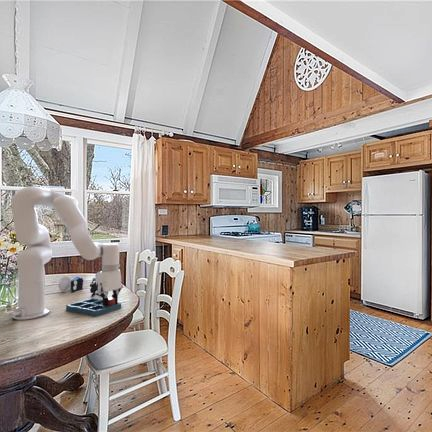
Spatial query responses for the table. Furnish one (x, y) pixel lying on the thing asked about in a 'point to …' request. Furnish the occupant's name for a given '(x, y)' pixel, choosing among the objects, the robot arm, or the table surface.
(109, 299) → the cylinder
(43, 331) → the table surface
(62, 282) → the toy
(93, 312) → the grid
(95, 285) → the toy
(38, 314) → the robot arm
